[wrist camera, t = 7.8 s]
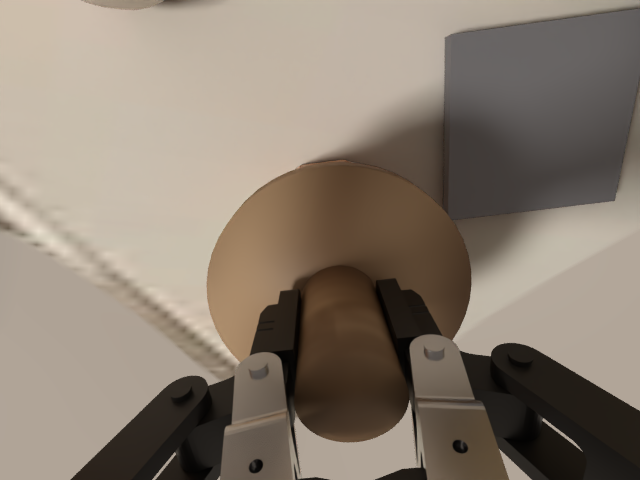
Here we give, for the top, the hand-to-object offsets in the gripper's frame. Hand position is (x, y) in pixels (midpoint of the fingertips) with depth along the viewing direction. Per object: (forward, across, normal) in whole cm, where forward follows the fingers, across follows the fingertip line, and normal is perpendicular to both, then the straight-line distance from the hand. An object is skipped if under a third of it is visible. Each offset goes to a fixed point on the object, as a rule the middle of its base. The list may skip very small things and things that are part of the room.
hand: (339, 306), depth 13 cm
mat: (+7, -11, -5) cm, 14 cm away
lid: (+2, 0, 0) cm, 2 cm away
